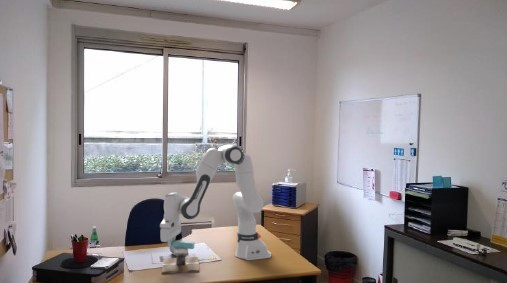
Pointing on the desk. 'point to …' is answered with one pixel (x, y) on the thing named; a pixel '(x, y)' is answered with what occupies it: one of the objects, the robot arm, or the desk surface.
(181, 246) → the coupling
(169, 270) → the beige square tray
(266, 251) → the robot arm
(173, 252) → the ceramic mug
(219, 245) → the desk surface
